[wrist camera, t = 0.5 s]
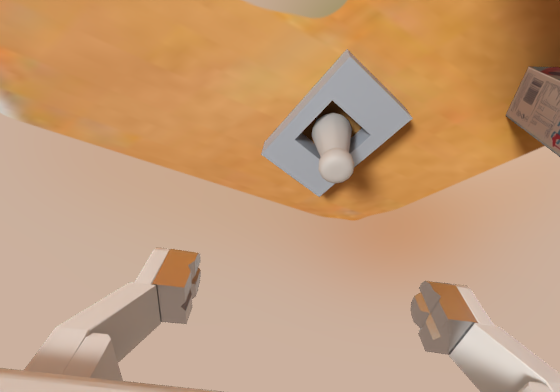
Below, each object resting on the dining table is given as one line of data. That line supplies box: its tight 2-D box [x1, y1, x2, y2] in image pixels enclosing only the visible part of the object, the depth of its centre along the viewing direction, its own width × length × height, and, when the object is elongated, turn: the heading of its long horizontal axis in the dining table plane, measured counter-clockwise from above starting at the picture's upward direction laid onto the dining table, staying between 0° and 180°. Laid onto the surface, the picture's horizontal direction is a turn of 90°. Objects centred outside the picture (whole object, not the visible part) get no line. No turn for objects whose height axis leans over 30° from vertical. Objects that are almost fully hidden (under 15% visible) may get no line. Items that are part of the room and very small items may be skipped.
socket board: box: [261, 50, 413, 197], centre depth 44 cm, size 18×12×4 cm, turn 141°
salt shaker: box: [312, 113, 354, 183], centre depth 40 cm, size 6×6×13 cm
